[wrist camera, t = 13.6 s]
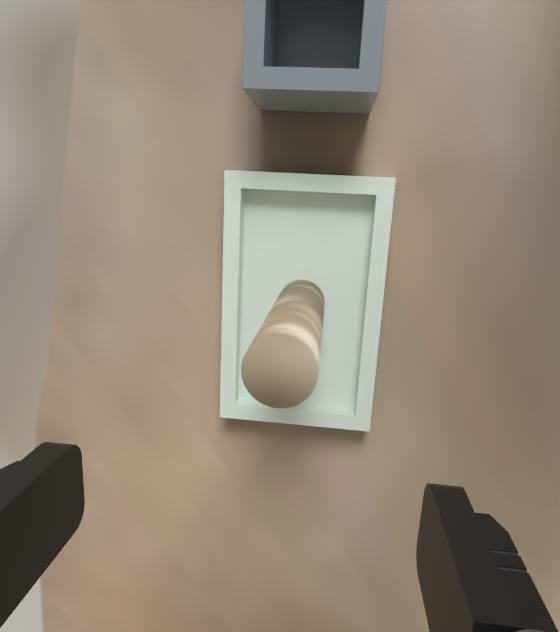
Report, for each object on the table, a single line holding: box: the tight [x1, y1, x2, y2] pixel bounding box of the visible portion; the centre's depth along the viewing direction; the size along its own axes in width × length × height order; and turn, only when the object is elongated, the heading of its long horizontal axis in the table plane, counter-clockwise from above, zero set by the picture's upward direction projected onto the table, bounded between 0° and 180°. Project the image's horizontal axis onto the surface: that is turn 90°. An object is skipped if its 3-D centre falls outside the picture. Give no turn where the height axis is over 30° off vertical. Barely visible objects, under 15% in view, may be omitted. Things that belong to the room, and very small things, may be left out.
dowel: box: [241, 280, 325, 408], centre depth 25 cm, size 3×3×13 cm
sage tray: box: [220, 170, 396, 432], centre depth 31 cm, size 10×16×2 cm, turn 177°
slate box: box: [242, 0, 387, 114], centre depth 25 cm, size 7×7×6 cm
